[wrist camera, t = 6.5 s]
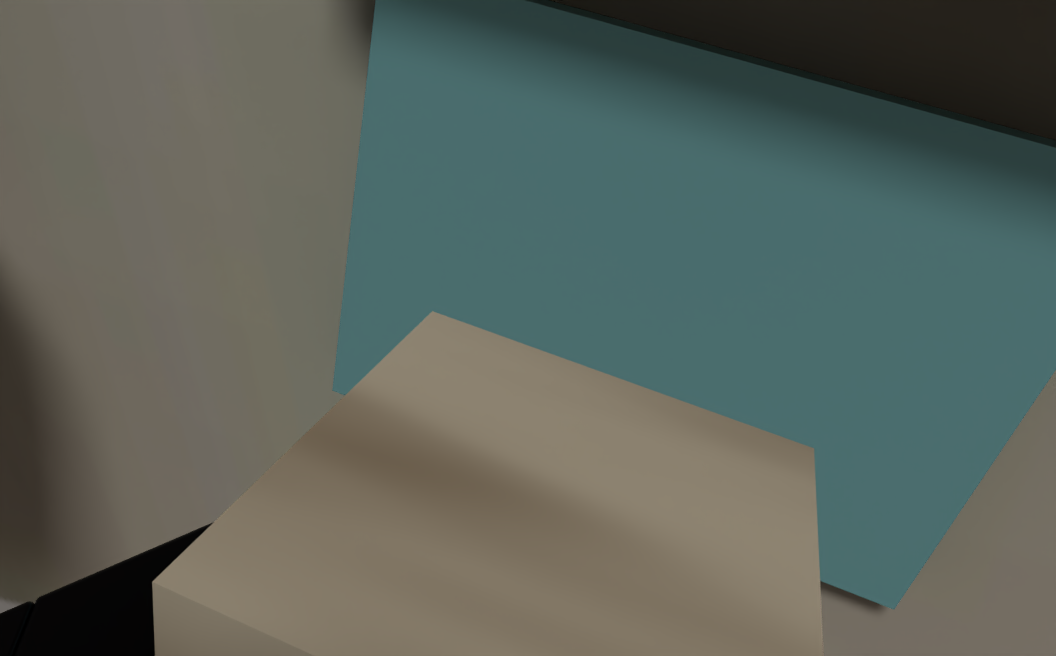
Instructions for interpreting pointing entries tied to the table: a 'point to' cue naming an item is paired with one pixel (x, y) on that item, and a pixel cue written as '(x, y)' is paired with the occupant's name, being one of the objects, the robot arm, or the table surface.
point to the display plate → (715, 247)
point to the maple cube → (507, 523)
